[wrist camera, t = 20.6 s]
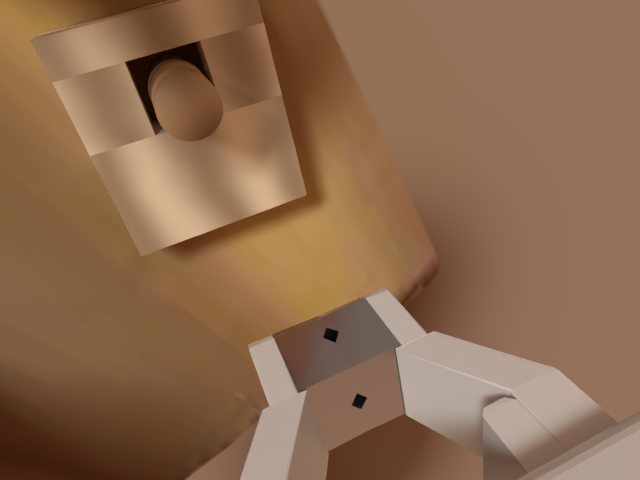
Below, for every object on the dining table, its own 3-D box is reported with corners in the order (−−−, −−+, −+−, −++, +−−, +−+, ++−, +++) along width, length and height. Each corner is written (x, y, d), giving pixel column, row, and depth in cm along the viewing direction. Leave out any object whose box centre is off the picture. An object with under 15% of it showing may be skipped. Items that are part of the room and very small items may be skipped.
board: (139, 233, 40) (141, 256, 36) (39, 33, 31) (30, 40, 28) (292, 178, 42) (307, 194, 39) (240, -19, 34) (253, -19, 30)
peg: (156, 111, 36) (169, 151, 28) (135, 59, 34) (142, 85, 25) (205, 96, 37) (232, 130, 28) (188, 44, 34) (211, 64, 26)
